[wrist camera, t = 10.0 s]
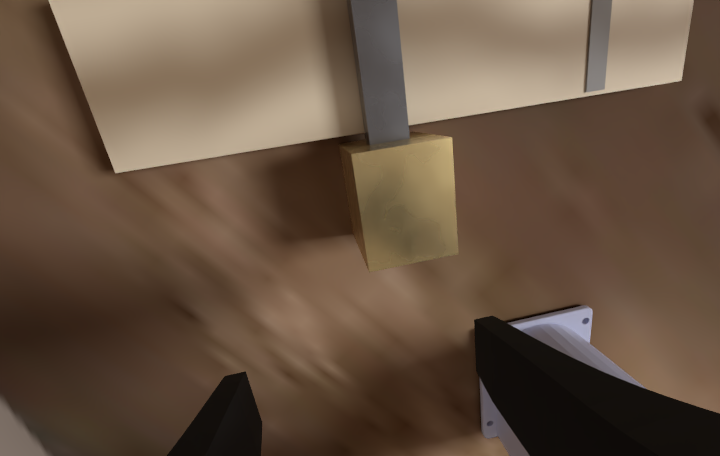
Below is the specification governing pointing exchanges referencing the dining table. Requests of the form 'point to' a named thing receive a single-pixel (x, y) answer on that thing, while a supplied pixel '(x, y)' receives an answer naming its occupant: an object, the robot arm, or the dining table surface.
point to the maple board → (343, 65)
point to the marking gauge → (394, 155)
